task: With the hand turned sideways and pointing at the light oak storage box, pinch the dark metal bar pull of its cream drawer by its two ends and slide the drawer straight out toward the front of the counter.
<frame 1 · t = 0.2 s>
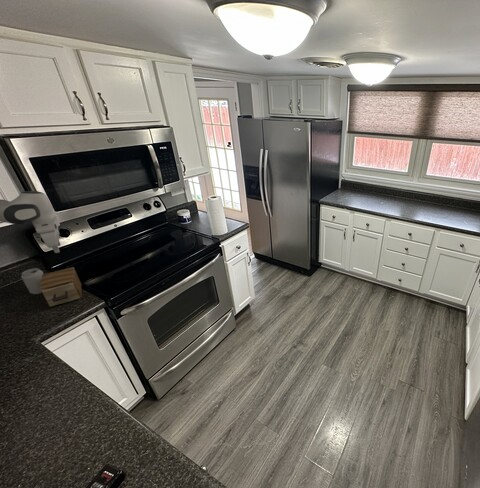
hand: (58, 248, 135), 21 cm above the worktop, tool pointing down, fingers open, 8 cm apart
storage box: (66, 294, 134), on the worktop
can: (41, 291, 136), on the worktop
drawer: (61, 291, 128), point 5 cm above the worktop, slide at 1.0 cm
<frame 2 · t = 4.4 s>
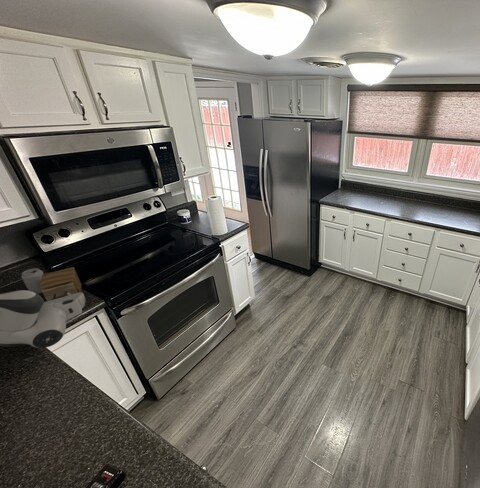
hand: (52, 298, 110), 14 cm above the worktop, tool horizontal, fingers open, 8 cm apart
nothing on the worktop moved.
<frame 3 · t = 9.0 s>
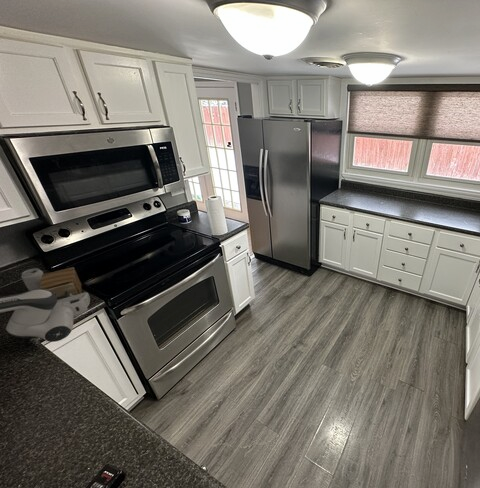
hand: (60, 297, 122), 6 cm above the worktop, tool horizontal, fingers closed on drawer, 5 cm apart
drawer: (61, 291, 128), point 5 cm above the worktop, slide at 1.0 cm, touching gripper
everything else where it was.
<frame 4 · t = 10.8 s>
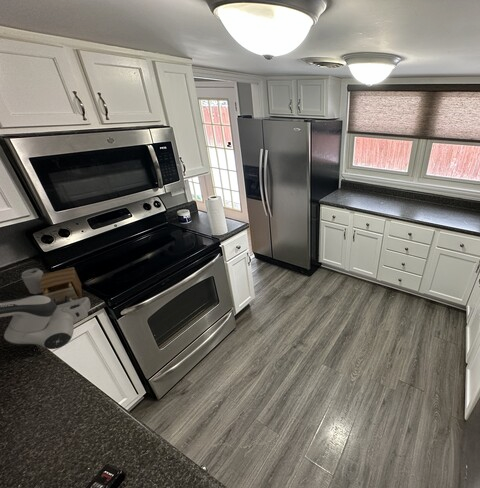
hand: (60, 302, 119), 6 cm above the worktop, tool horizontal, fingers closed on drawer, 5 cm apart
drawer: (61, 295, 125), point 5 cm above the worktop, slide at 5.7 cm, touching gripper
everything else where it was.
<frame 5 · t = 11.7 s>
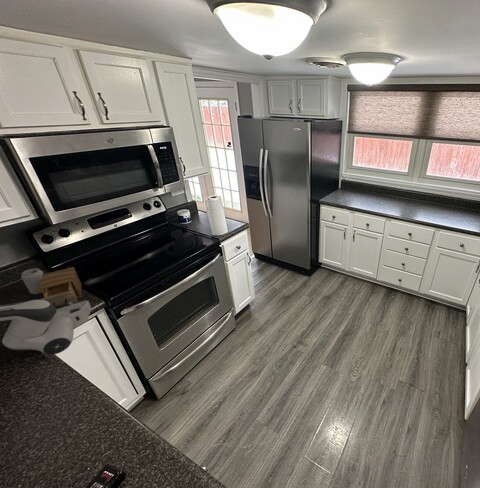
hand: (60, 306, 117), 6 cm above the worktop, tool horizontal, fingers closed on drawer, 5 cm apart
drawer: (61, 299, 123), point 5 cm above the worktop, slide at 8.9 cm, touching gripper
everything else where it was.
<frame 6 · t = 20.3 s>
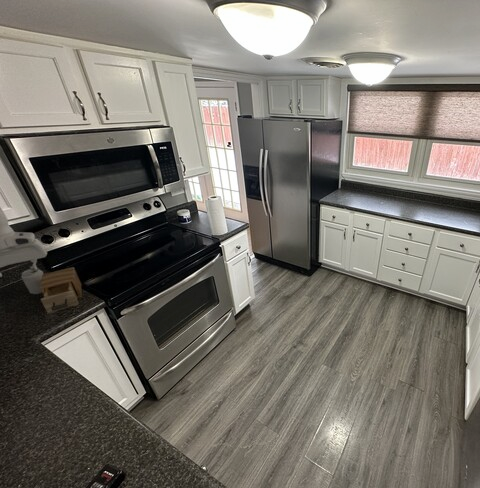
hand: (17, 273, 103), 27 cm above the worktop, tool pointing down, fingers open, 8 cm apart
drawer: (61, 299, 123), point 5 cm above the worktop, slide at 8.8 cm
everything else where it was.
at the end: drawer slide at 8.8 cm; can moved 0.1 cm from its start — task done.
